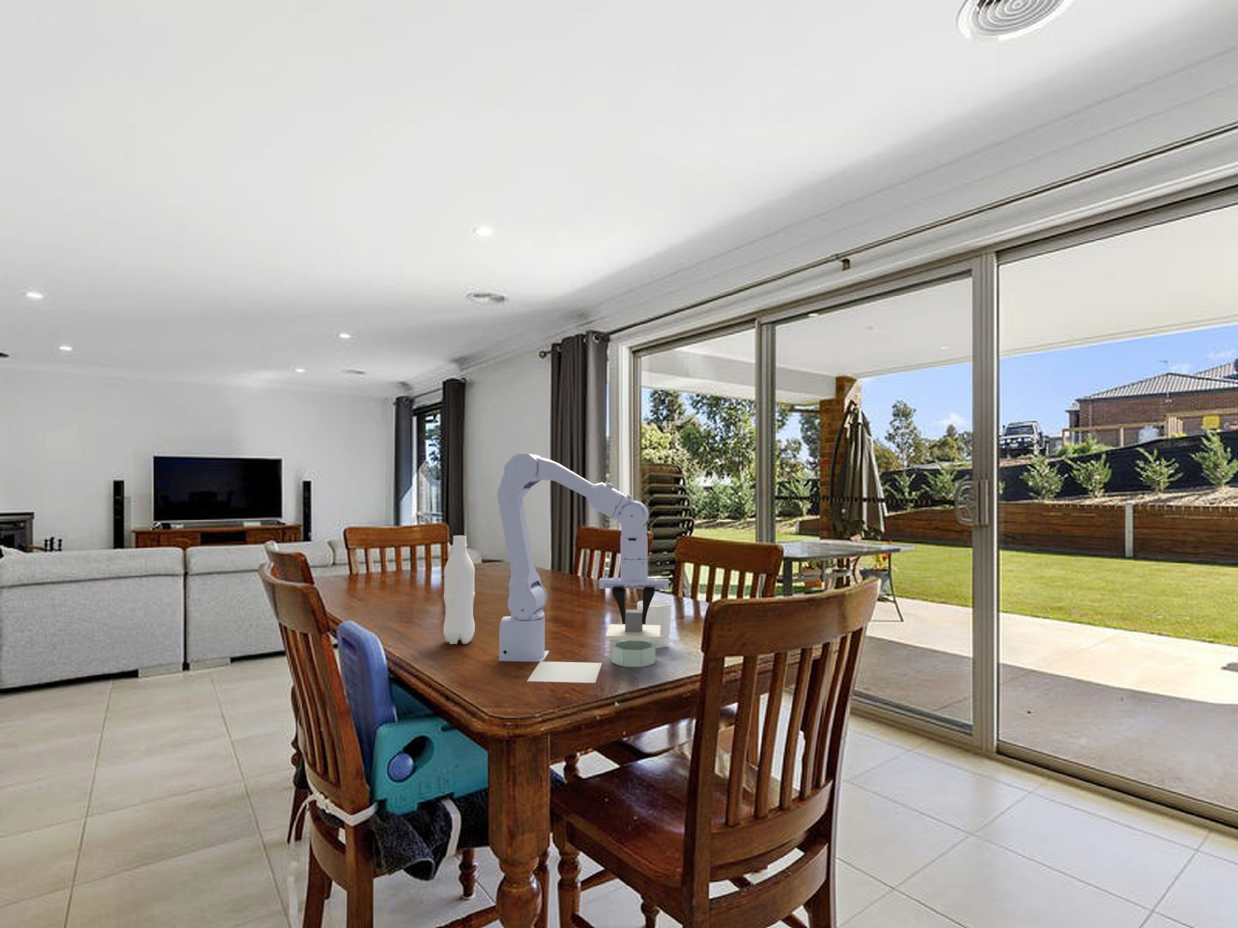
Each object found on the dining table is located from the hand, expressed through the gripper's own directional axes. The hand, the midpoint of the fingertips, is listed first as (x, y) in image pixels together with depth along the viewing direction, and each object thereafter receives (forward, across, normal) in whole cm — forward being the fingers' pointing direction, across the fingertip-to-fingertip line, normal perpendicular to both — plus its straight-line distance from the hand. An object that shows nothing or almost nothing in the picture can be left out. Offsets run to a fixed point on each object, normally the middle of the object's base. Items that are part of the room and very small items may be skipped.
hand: (633, 623), depth 137 cm
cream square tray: (+8, -13, -8) cm, 18 cm away
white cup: (+9, +4, +14) cm, 17 cm away
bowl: (+9, 0, 0) cm, 9 cm away
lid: (+2, 0, 0) cm, 2 cm away
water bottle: (+8, -42, +14) cm, 45 cm away
